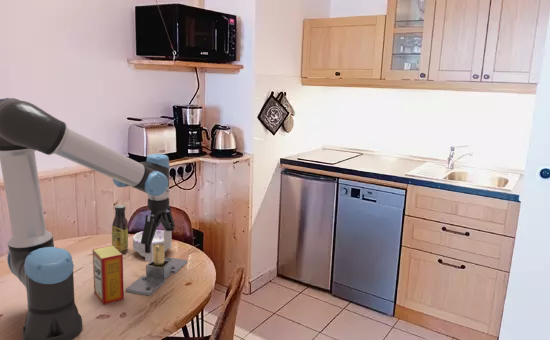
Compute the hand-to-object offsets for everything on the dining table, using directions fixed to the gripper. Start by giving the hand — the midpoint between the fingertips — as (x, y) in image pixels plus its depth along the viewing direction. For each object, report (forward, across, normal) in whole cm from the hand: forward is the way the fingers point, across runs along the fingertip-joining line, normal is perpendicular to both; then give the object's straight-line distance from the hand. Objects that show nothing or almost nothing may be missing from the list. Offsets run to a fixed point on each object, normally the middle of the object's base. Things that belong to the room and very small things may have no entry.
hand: (158, 253), depth 160 cm
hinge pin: (+9, 0, 0) cm, 9 cm away
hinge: (+9, 0, 0) cm, 9 cm away
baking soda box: (+9, -19, +8) cm, 22 cm away
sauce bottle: (+9, +15, +26) cm, 31 cm away
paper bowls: (+9, +18, +13) cm, 24 cm away
